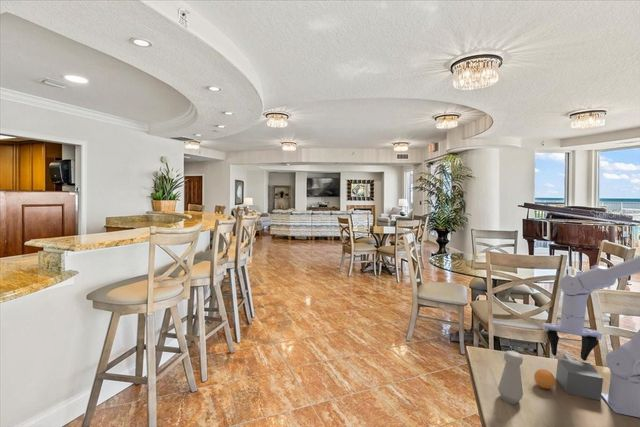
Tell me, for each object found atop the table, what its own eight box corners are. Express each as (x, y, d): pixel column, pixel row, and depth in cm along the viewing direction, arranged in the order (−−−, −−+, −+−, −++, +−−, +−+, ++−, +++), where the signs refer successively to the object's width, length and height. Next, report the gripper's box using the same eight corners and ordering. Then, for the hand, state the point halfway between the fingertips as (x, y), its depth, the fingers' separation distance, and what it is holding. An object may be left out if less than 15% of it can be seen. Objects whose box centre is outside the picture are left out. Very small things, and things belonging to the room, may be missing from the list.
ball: (551, 384, 97) (552, 367, 96) (557, 394, 92) (558, 377, 91) (531, 380, 98) (532, 364, 98) (536, 390, 93) (537, 373, 93)
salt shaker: (525, 408, 86) (530, 360, 84) (501, 404, 87) (505, 357, 86) (517, 394, 91) (521, 349, 90) (494, 391, 92) (498, 346, 91)
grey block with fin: (600, 400, 90) (603, 378, 89) (565, 393, 92) (567, 371, 92) (579, 372, 103) (581, 353, 102) (549, 367, 106) (551, 348, 105)
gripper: (596, 313, 102) (591, 355, 103) (541, 305, 107) (537, 345, 108) (607, 322, 95) (601, 366, 97) (548, 313, 100) (543, 356, 101)
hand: (568, 356), depth 102 cm, fingers open, 7 cm apart
